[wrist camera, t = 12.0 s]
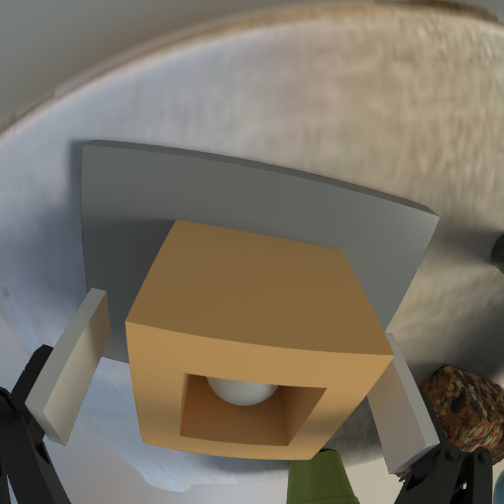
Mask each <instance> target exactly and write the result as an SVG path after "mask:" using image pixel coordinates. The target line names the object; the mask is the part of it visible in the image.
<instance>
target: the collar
mask: <svg viewBox="0 0 504 504" xmlns="http://www.w3.org/2000/svg"><path fill="white" fill-rule="evenodd" d="M125 325H126V336H127V346H128V355H129V363H130V371H131V378H132V385H133V392H134V398H135V404H136V410H137V415H138V421H139V426H140V431H141V436H142V440H143V443H145V444H150V445H154V446H159V447H164V448H169V449H175V450H180V451H186V452H193V453H200V454H207V455H215V456H224V457H235V458H248V459H268V460H311V458H312V457H313V456H314V455H315V454H316V453H317V452H318V451H319V450H320V449H321V448H322V447H323V446H324V445H325V444H326V443H327V441H328V440H329V439H330V438H331V437H332V436H333V435H334V434H335V433H336V431H337V430H338V429H339V428H340V427H341V426H342V424H343V423H344V422H345V421H346V420H347V418H348V417H349V416H350V415H351V414H352V412H353V411H354V410H355V409H356V408H357V406H358V405H359V404H360V402H361V401H362V400H363V399H364V397H365V396H366V395H367V393H368V392H369V391H370V389H371V388H372V387H373V385H374V384H375V383H376V381H377V380H378V379H379V377H380V376H381V375H382V373H383V372H384V370H385V369H386V367H387V366H388V365H389V363H390V362H391V360H392V359H393V357H394V356H395V354H394V352H393V350H392V348H391V346H390V344H389V341H388V339H387V337H386V335H385V333H384V331H383V329H382V327H381V325H380V323H379V321H378V318H377V316H376V314H375V312H374V310H373V308H372V306H371V304H370V302H369V300H368V298H367V296H366V294H365V293H364V291H363V289H362V287H361V285H360V283H359V281H358V279H357V277H356V275H355V273H354V272H353V270H352V268H351V266H350V264H349V262H348V260H347V259H346V257H345V255H344V253H343V251H342V250H341V249H336V248H330V247H325V246H320V245H315V244H310V243H304V242H299V241H294V240H288V239H283V238H278V237H272V236H267V235H261V234H256V233H250V232H245V231H239V230H233V229H228V228H222V227H216V226H211V225H205V224H199V223H193V222H188V221H182V220H176V221H175V223H174V224H173V226H172V228H171V230H170V232H169V234H168V236H167V237H166V239H165V241H164V243H163V245H162V247H161V249H160V251H159V253H158V255H157V257H156V259H155V260H154V262H153V264H152V266H151V268H150V270H149V272H148V274H147V276H146V278H145V280H144V282H143V284H142V287H141V289H140V291H139V293H138V295H137V297H136V299H135V301H134V303H133V305H132V308H131V310H130V312H129V314H128V316H127V318H126V321H125ZM206 376H207V377H214V378H221V379H228V380H235V381H244V382H253V383H262V384H273V385H279V386H278V387H277V389H276V390H275V391H274V393H273V394H272V395H271V396H270V397H268V398H267V399H266V400H264V401H262V402H260V403H257V404H253V405H246V406H242V405H235V404H232V403H229V402H227V401H225V400H223V399H222V398H220V397H219V396H218V395H217V394H216V393H215V392H214V391H213V390H212V388H211V387H210V385H209V383H208V380H207V377H206Z"/></svg>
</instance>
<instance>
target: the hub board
mask: <svg viewBox="0 0 504 504" xmlns="http://www.w3.org/2000/svg"><path fill="white" fill-rule="evenodd" d="M439 218H440V216H439V215H437V214H436V213H435V212H433V211H432V210H431V209H429V208H428V207H427V206H424V205H421V204H418V203H415V202H412V201H408V200H405V199H402V198H399V197H396V196H392V195H389V194H386V193H382V192H379V191H375V190H372V189H368V188H365V187H361V186H358V185H354V184H350V183H347V182H343V181H339V180H335V179H331V178H327V177H323V176H319V175H315V174H311V173H307V172H302V171H298V170H293V169H289V168H284V167H280V166H275V165H270V164H265V163H260V162H255V161H250V160H245V159H240V158H234V157H229V156H223V155H217V154H211V153H205V152H198V151H192V150H185V149H178V148H170V147H163V146H154V145H146V144H137V143H127V142H116V141H105V140H94V141H92V142H89V143H86V144H84V145H82V161H81V219H82V239H83V253H84V264H85V274H86V283H87V291H88V293H89V291H90V290H91V288H95V289H100V290H104V291H107V301H108V311H109V319H110V327H111V336H110V338H109V341H108V343H107V345H106V347H105V349H104V352H103V354H102V357H105V358H109V359H113V360H117V361H121V362H125V363H129V355H128V346H127V336H126V325H125V321H126V318H127V316H128V314H129V312H130V310H131V308H132V305H133V303H134V301H135V299H136V297H137V295H138V293H139V291H140V289H141V287H142V284H143V282H144V280H145V278H146V276H147V274H148V272H149V270H150V268H151V266H152V264H153V262H154V260H155V259H156V257H157V255H158V253H159V251H160V249H161V247H162V245H163V243H164V241H165V239H166V237H167V236H168V234H169V232H170V230H171V228H172V226H173V224H174V223H175V221H176V220H182V221H188V222H193V223H199V224H205V225H211V226H216V227H222V228H228V229H233V230H239V231H245V232H250V233H256V234H261V235H267V236H272V237H278V238H283V239H288V240H294V241H299V242H304V243H310V244H315V245H320V246H325V247H330V248H336V249H341V250H342V251H343V253H344V255H345V257H346V259H347V260H348V262H349V264H350V266H351V268H352V270H353V272H354V273H355V275H356V277H357V279H358V281H359V283H360V285H361V287H362V289H363V291H364V293H365V294H366V296H367V298H368V300H369V302H370V304H371V306H372V308H373V310H374V312H375V314H376V316H377V318H378V321H379V323H380V325H381V327H382V329H383V331H384V332H385V330H386V328H387V326H388V325H389V323H390V321H391V319H392V318H393V316H394V314H395V312H396V310H397V309H398V307H399V305H400V303H401V301H402V299H403V297H404V295H405V293H406V291H407V289H408V287H409V285H410V283H411V281H412V279H413V277H414V275H415V273H416V271H417V269H418V267H419V265H420V263H421V261H422V258H423V256H424V254H425V252H426V249H427V247H428V245H429V243H430V240H431V238H432V236H433V233H434V231H435V228H436V226H437V223H438V221H439ZM129 364H130V363H129ZM206 377H207V376H206ZM207 380H208V383H209V385H210V387H211V388H212V390H213V391H214V392H215V393H216V394H217V395H218V396H219V397H220V398H222V399H223V400H225V401H227V402H229V403H232V404H235V405H242V406H246V405H253V404H257V403H260V402H262V401H264V400H266V399H267V398H268V397H270V396H271V395H272V394H273V393H274V391H275V390H276V389H277V387H278V386H279V385H273V384H262V383H253V382H244V381H235V380H228V379H221V378H214V377H207Z"/></svg>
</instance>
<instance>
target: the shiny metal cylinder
mask: <svg viewBox="0 0 504 504" xmlns="http://www.w3.org/2000/svg"><path fill="white" fill-rule="evenodd" d="M492 262H493V264H494V265H495V266H496V267H497V268H498V269H499V270H500V271H501V272H502V273H503V274H504V235H502V236H501V237H500V238H499V240H498V241H497V243H496V244H495V246H494V249H493V252H492Z"/></svg>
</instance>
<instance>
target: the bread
mask: <svg viewBox="0 0 504 504" xmlns="http://www.w3.org/2000/svg"><path fill="white" fill-rule="evenodd" d="M418 390H419V392H425V394H426V395H427V396H428V397H429V398H430V399H431V402H432V404H433V406H434V410H435V411H436V413H437V417H438V418H439V420H440V423H441V425H442V428H443V430H444V432H445V435H446V437H447V440H448V442H449V443H452V444H455V445H457V446H458V447H459V448H460V450H461V451H466V452H473V451H474V450H475V449H476V448H478V447H480V446H483V447H485V448H487V449H488V450H489V451H490V453H491V456H492V466H493V465H495V464H496V463H498V462H500V461H501V460H502V459H503V458H504V389H503V387H501V386H500V385H495V384H494V383H492V382H491V381H489V380H488V379H487V380H486V379H485V378H483V377H480V376H478V375H476V374H474V373H472V372H467V371H463V370H459V369H456V368H453V367H451V366H446V367H444V368H441V369H439V370H438V371H437V372H436V374H435V375H434V376H431V377H429V378H427V379H425V380H424V381H423V382H422V383H421V384H420V385H419V387H418ZM380 444H381V442H380ZM381 446H382V445H381ZM385 461H386V460H385ZM386 465H387V464H386ZM410 471H412V469H411V466H410V467H408V468H407V469H405V470H404V471H403V472H398V473H393V474H396V475H397V476H398V477H403V476H404V475H406V474H407V473H409V472H410ZM404 480H406V479H404Z"/></svg>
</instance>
